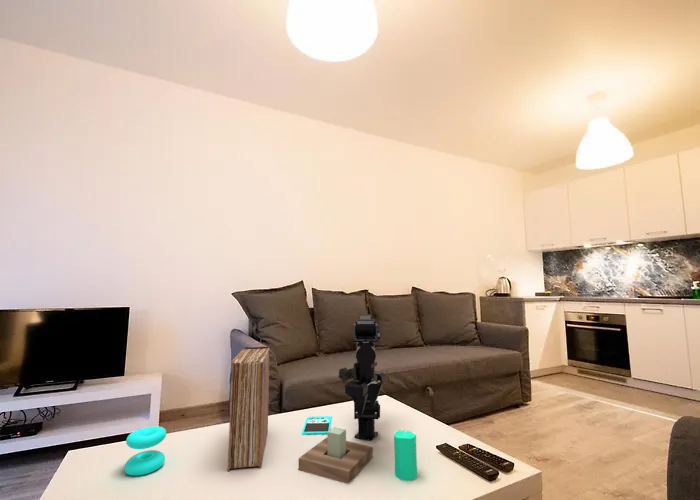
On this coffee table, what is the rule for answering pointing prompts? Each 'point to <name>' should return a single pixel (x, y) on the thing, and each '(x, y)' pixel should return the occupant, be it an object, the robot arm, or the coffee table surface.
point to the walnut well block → (336, 461)
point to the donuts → (146, 459)
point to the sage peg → (337, 443)
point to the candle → (405, 455)
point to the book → (249, 407)
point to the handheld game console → (317, 425)
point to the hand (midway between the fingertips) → (366, 411)
